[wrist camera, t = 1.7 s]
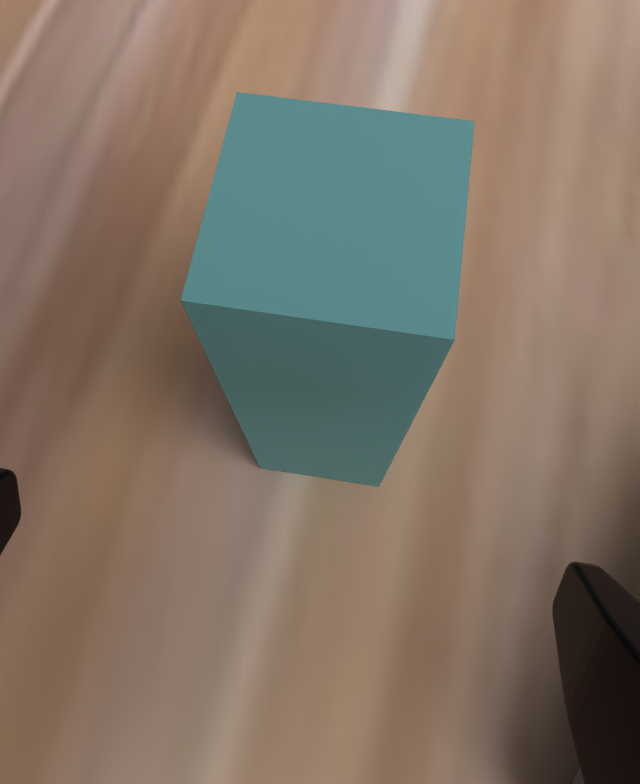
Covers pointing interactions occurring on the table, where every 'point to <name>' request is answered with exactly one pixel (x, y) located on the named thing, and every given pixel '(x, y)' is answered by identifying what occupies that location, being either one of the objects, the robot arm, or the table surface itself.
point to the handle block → (330, 277)
